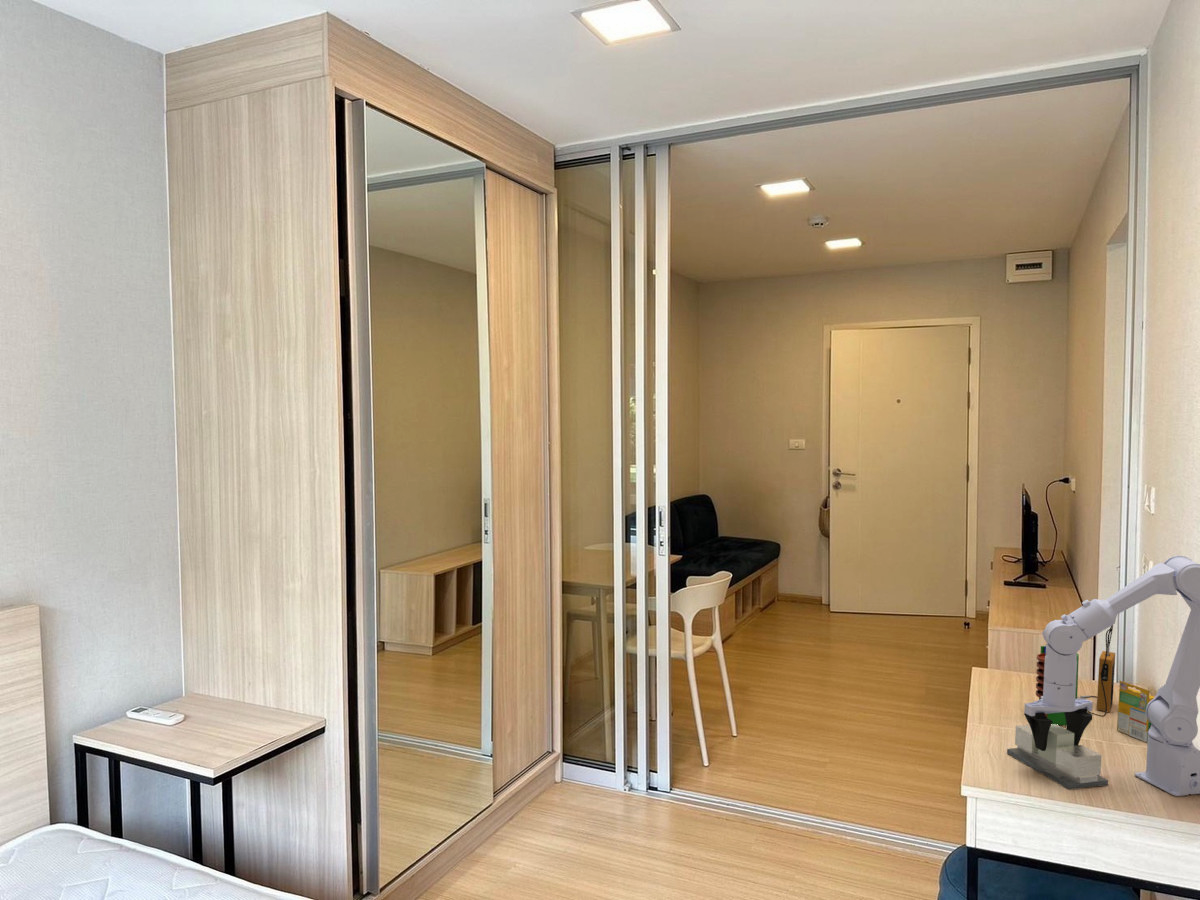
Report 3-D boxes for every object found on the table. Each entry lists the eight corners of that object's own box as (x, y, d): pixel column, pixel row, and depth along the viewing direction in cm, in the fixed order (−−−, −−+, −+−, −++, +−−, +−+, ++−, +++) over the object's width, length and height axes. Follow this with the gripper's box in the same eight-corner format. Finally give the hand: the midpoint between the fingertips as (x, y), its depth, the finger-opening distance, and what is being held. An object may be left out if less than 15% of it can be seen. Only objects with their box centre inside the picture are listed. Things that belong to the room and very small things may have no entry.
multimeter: (1069, 692, 221) (1073, 615, 220) (1114, 700, 215) (1118, 621, 214) (1060, 708, 209) (1064, 627, 208) (1107, 718, 203) (1112, 634, 202)
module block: (1072, 762, 173) (1074, 733, 172) (1055, 764, 172) (1057, 735, 171) (1054, 752, 177) (1055, 724, 177) (1037, 754, 176) (1039, 725, 176)
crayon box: (1156, 741, 190) (1159, 689, 189) (1146, 743, 188) (1149, 690, 188) (1125, 729, 196) (1128, 679, 196) (1116, 730, 195) (1118, 680, 195)
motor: (1025, 709, 208) (1029, 627, 207) (1062, 710, 208) (1066, 628, 206) (1045, 725, 198) (1049, 639, 196) (1085, 726, 197) (1089, 640, 196)
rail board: (1107, 785, 167) (1109, 754, 167) (1068, 789, 165) (1070, 758, 165) (1043, 750, 184) (1044, 722, 183) (1007, 753, 182) (1008, 725, 181)
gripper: (1074, 672, 179) (1071, 736, 180) (1014, 677, 175) (1011, 742, 176) (1102, 683, 172) (1098, 750, 173) (1040, 688, 169) (1036, 756, 169)
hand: (1056, 747), depth 174 cm, fingers open, 7 cm apart
